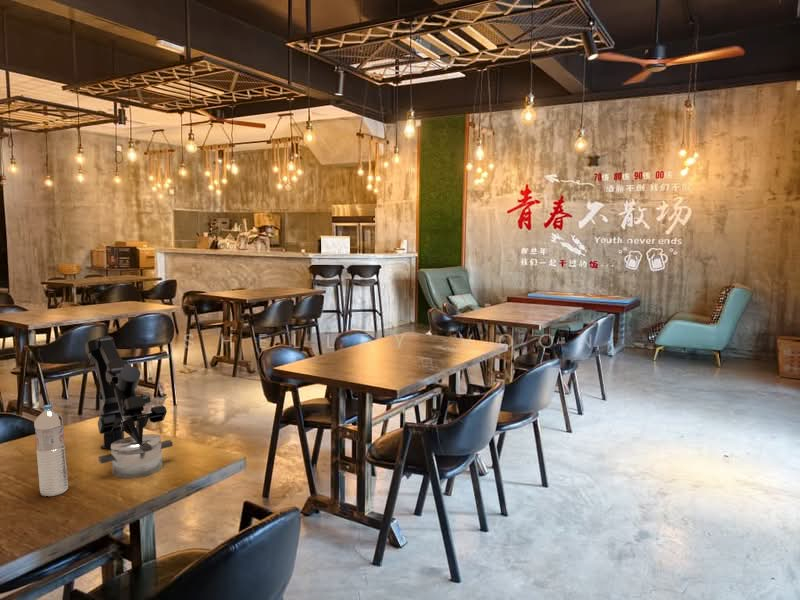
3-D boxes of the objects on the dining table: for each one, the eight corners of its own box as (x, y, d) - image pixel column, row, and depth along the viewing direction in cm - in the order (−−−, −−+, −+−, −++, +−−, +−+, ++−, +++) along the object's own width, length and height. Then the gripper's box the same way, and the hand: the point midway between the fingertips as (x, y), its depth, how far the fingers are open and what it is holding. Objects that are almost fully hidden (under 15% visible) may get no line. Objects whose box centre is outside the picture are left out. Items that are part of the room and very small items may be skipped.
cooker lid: (105, 445, 176) (105, 440, 176) (152, 434, 185) (152, 429, 185) (122, 457, 162) (122, 452, 162) (172, 445, 171) (172, 440, 171)
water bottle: (58, 497, 157) (51, 409, 154) (34, 497, 157) (27, 409, 154) (73, 486, 163) (67, 402, 161) (50, 486, 164) (43, 402, 161)
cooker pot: (94, 469, 175) (92, 447, 174) (163, 452, 189) (162, 431, 188) (107, 485, 164) (105, 462, 163) (180, 466, 177) (178, 444, 176)
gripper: (98, 390, 168) (110, 436, 160) (163, 380, 180) (177, 422, 173) (93, 411, 174) (105, 455, 167) (156, 399, 186) (169, 440, 179)
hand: (140, 442), depth 171 cm, fingers closed, pressing on cooker lid
